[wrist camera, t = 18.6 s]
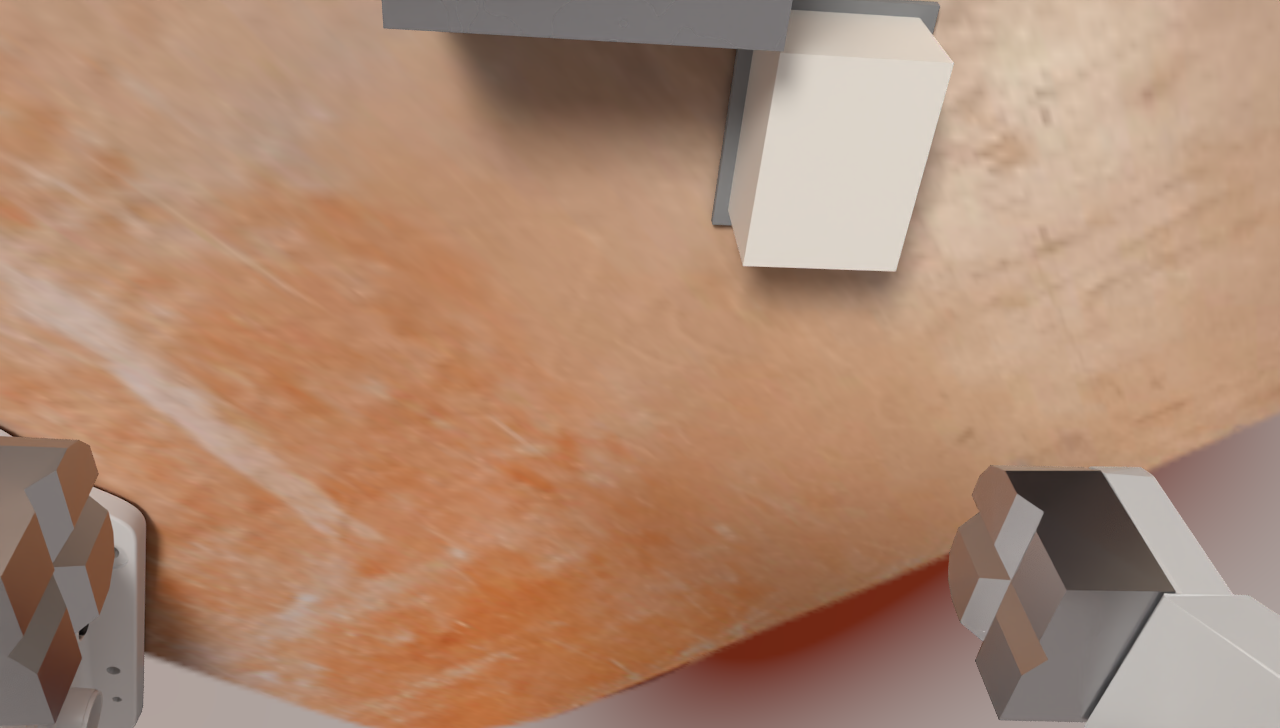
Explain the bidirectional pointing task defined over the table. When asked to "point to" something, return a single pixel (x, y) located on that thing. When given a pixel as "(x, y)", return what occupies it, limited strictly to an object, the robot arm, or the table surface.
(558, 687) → the table surface
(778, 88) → the cream white box
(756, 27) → the box
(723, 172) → the mat
